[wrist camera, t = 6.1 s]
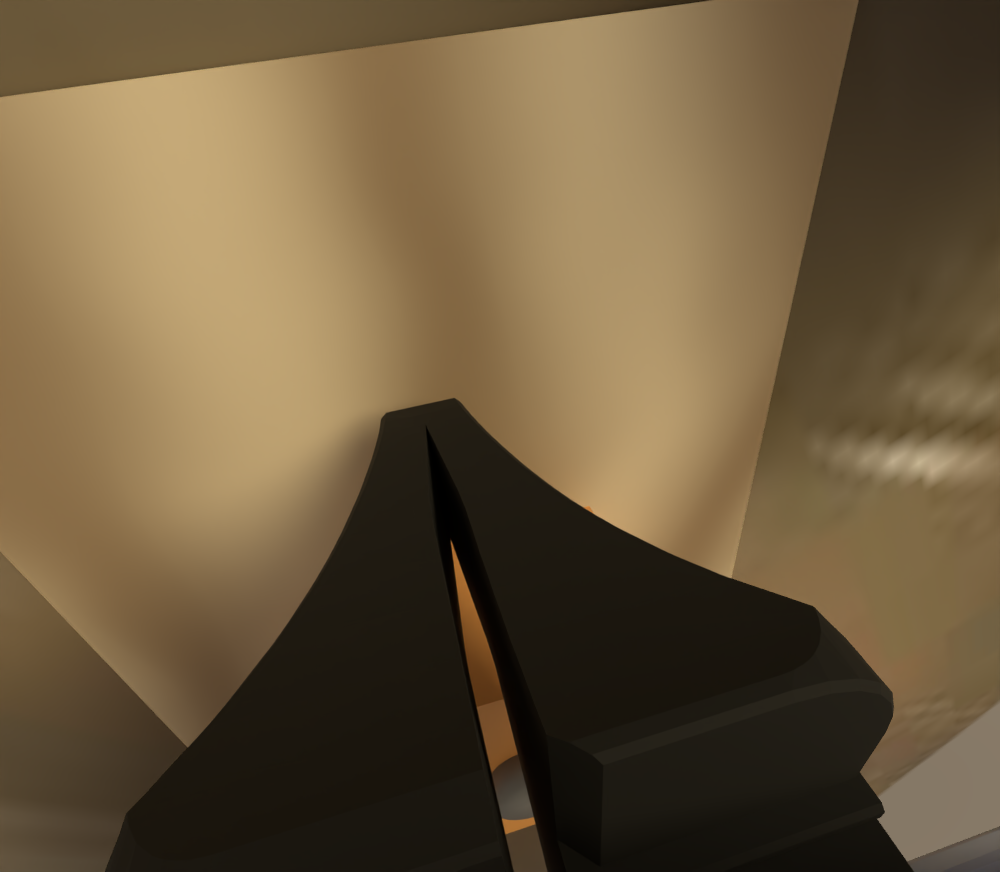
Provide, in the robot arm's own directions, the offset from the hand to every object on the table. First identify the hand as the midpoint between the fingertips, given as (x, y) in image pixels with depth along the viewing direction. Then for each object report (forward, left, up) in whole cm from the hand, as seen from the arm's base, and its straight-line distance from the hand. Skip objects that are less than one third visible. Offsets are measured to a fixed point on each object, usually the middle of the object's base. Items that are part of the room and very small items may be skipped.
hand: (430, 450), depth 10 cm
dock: (0, -4, -1) cm, 4 cm away
